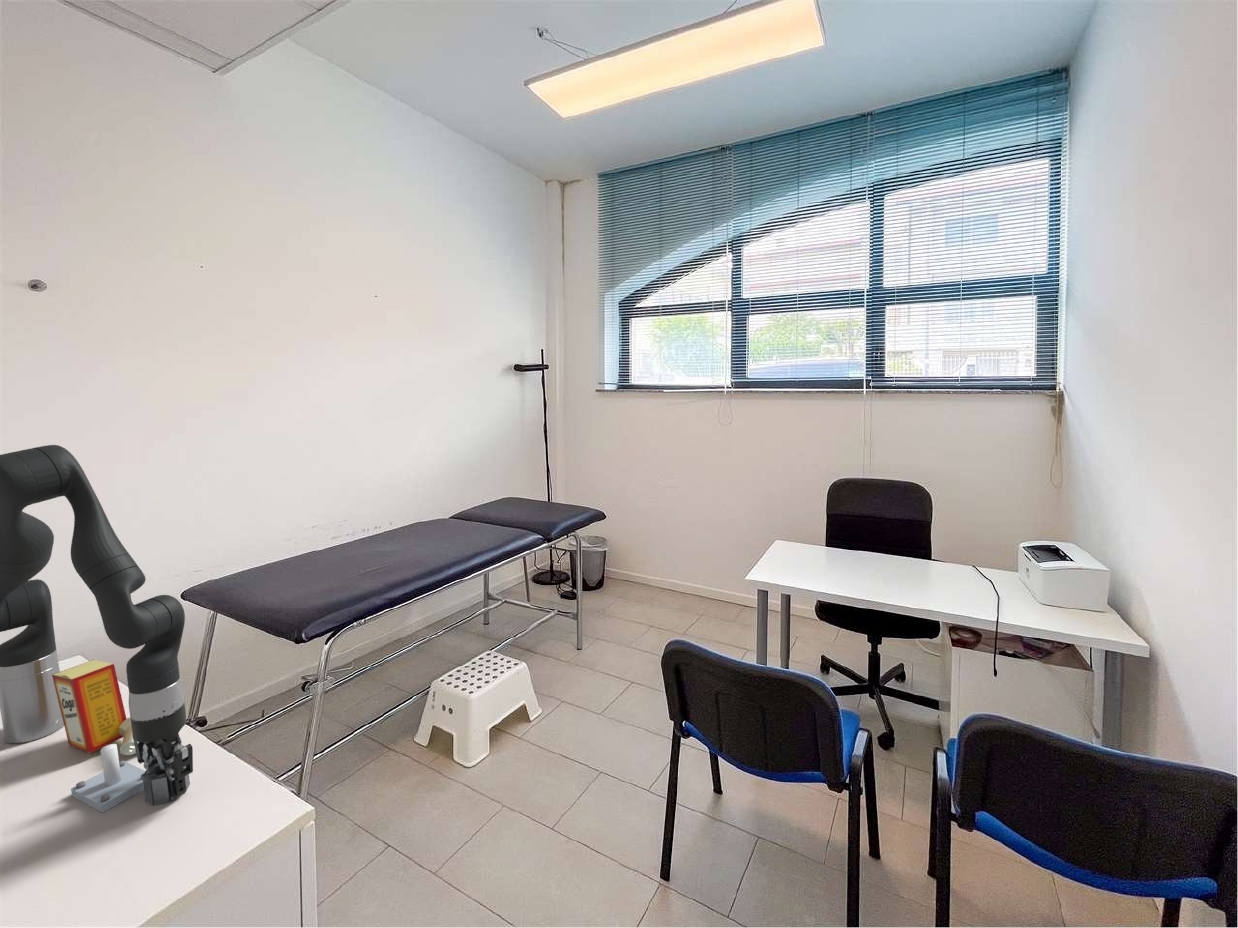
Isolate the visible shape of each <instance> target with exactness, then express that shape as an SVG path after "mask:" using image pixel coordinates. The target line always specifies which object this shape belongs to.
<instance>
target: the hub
mask: <svg viewBox="0 0 1238 928" xmlns="http://www.w3.org/2000/svg"><path fill="white" fill-rule="evenodd" d="M171 761H173V759H172V758H171V759H169V760H167V761H166V763H169V762H171ZM172 770H173V773H174V766H172ZM144 771H145V773H144V774H143V776H142V778H143V785H144V789H143V790H144V791H143V792H144V801H145V803H147V804H149V805H150V806H158V805H163V804H167V803H170V802H172V801H174V800H176V799H177V798H179V797H180V796H183V795H184V794H185V793H187V791H188V789H189V786H190V784H191V781H190V779H191V778H190V774H188V775H187V776H185V782H186V791H185V792H184V793H183V794H181V795H180V796H178V797H176V798H172V797H171V796H170V788H169V779H168V776H167V773H166V771H165V770H161V768H160V765H159V763H158V762H157V763H155V764H154V765H152V766H150V767H149V768H147V770H146V769H145V770H144Z"/></svg>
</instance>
